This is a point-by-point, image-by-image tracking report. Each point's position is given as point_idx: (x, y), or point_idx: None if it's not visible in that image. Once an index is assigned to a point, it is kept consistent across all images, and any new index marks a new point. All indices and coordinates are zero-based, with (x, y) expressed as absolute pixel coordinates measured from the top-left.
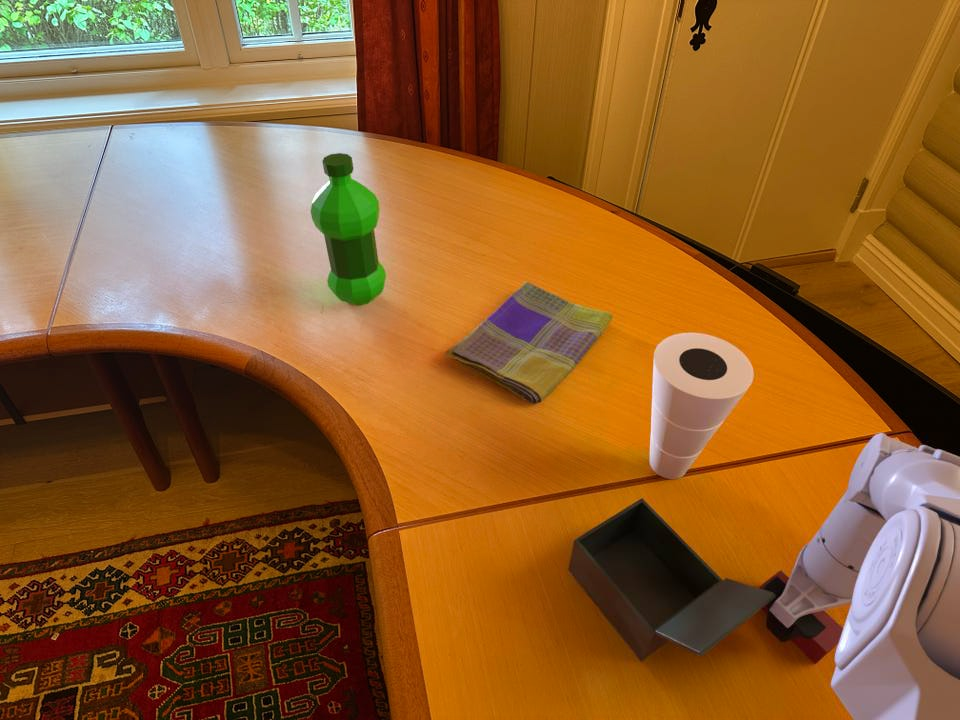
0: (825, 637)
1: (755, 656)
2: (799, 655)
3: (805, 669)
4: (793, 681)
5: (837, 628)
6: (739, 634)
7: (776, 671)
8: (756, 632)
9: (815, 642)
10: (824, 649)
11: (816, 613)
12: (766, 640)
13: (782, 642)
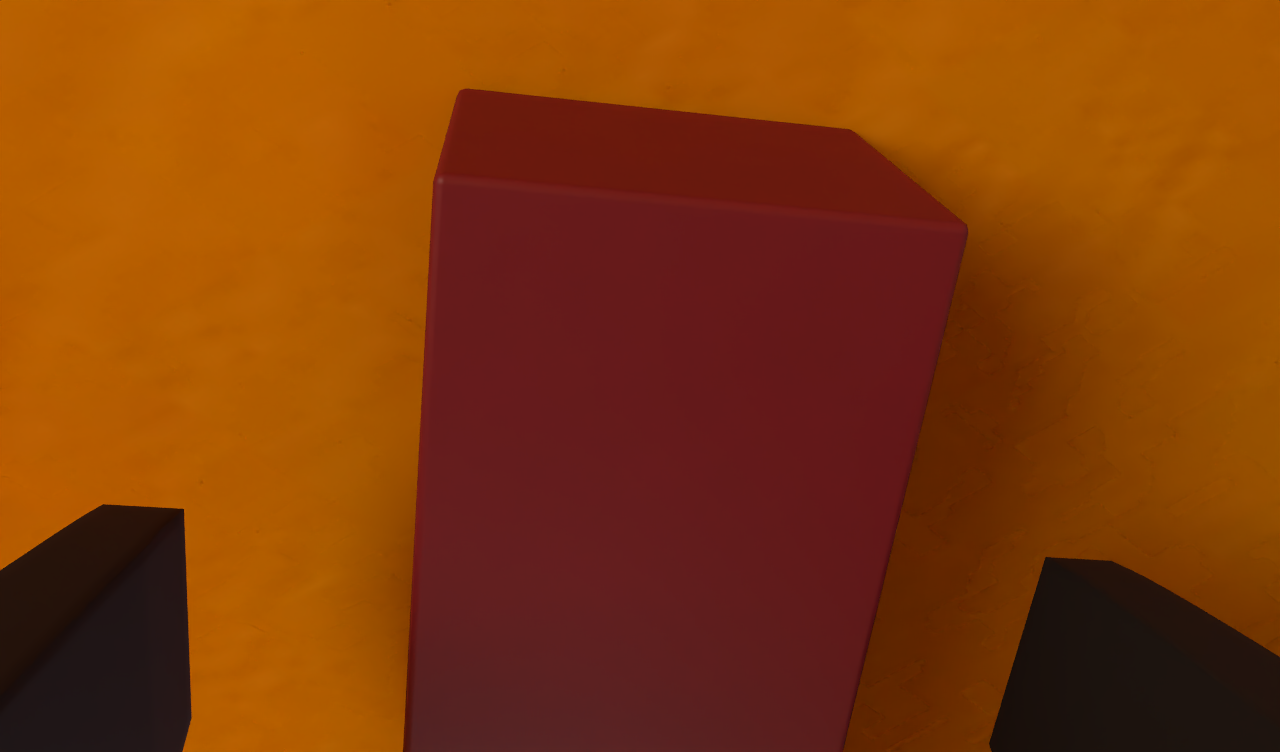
0: (781, 350)
1: (1183, 519)
2: None
3: (976, 167)
4: (1179, 180)
5: (508, 312)
6: None
7: (1192, 335)
8: (966, 630)
9: (930, 385)
10: (954, 269)
11: (547, 585)
12: (972, 543)
13: (1115, 563)
